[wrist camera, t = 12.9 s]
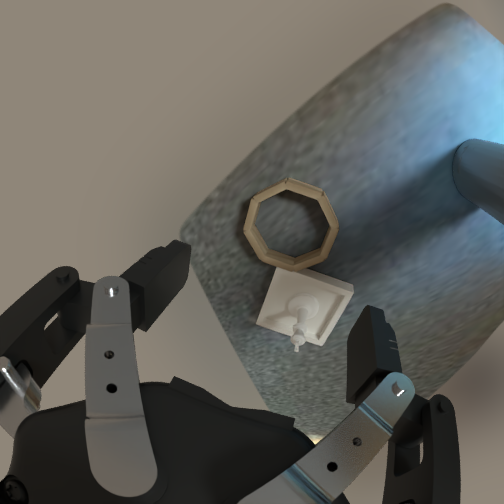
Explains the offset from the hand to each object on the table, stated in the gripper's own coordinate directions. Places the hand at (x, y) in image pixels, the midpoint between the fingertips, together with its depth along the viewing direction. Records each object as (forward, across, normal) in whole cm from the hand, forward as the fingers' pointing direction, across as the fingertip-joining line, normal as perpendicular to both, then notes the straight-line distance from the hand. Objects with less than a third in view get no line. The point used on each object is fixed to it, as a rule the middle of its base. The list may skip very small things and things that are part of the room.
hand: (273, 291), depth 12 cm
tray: (+26, -5, +19) cm, 33 cm away
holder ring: (+26, 0, +7) cm, 27 cm away
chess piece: (+26, -5, +19) cm, 32 cm away
